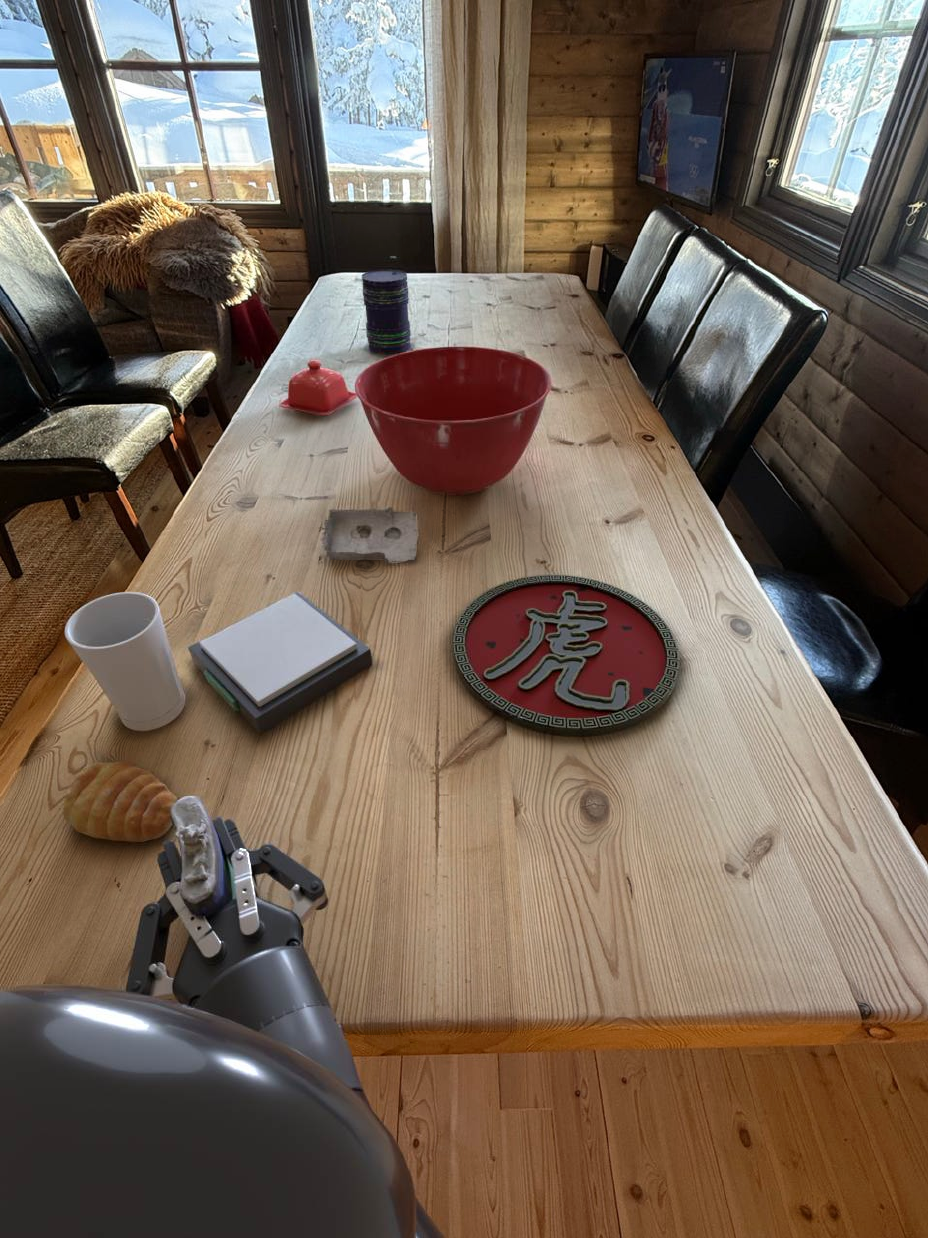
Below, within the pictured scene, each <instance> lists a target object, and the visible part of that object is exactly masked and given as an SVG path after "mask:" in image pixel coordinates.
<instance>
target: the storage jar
mask: <svg viewBox="0 0 928 1238" xmlns="http://www.w3.org/2000/svg"><path fill="white" fill-rule="evenodd" d="M389 257H390V260H396V259H397V256H395V255H392V256H389ZM361 281H362V284H361V285H362V290H361V291H362V297H363V299H362V301H363V305H364V306H365V317H366V322H365V329H366V331H365V333H366V338H367V343H368V345H367V348H368V351H369V352H371V353H372V354H374V355H375V354H376V355H380V356H393V355H397V354H400V353H404V352H408V351H411V349H412V344H411V335H412V334H411V333H412V332H411V322H410V320H409V307H408V304H409V300H410V297H409V287H408V286H409V285H408V273H407V272H405V271H402V270H397V269H376V270H370V271H366V272H364V273H363V274H361Z"/></svg>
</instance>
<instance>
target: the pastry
mask: <svg viewBox="0 0 928 1238" xmlns="http://www.w3.org/2000/svg"><path fill="white" fill-rule="evenodd" d="M176 801H178V797H177V796H176V795H175V794H173V792H171V791H170V790H169V788H168V786H167V785H166V784H165V783H163V782H161V781H160V780H159V778H157V777H156V776H155V775H153V774H152V772H150V771H149V770H147V769H143V768H140V767H137V766H133V764H132V763H131V762H129V761H126V760H125V761H124V760H119V761H118V760H117V761H115V762H102V761H97V762H94V763H92V764H90V765H88V766H87V767H86V768H84V769H83V770H82V771H81V772H80V773H79V774H78V775H77V776H76V777H75V778H74V780H73V781H72V784H71V786H70V787H69V789H68V790H67V793H66V794H65V796H64V802H63V811H62V815H63V818H64V820H66V821H67V822H68V823H69V824H70V825H71V826H72V828H74V830H75V831H76V832H78V833H80V834H83V835H86V836H89V837H91V838H94V839H102V840H110V841H117V842H119V841H121V842H122V841H123V842H131V843H137V842H140V843H141V842H142V843H143V842H146V841H150V840H156V839H157V840H158V839H160V838H161V837H162V836H164V835H166V833H167V832H168V831H169V830H170V828H171V827H172V826H173V824H172V821H171V818H170V816H171V806H172V805H174V804H175V803H176Z"/></svg>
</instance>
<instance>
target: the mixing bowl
mask: <svg viewBox="0 0 928 1238" xmlns="http://www.w3.org/2000/svg"><path fill="white" fill-rule="evenodd" d="M552 383H553V382H552V378H551V375H550V373H549V371H548V370H547V369H546V368H545V367H544V366H543V365H541V364H540V363H538V362H537V361H535V360H533V359H532V358H529V357H527V356H525V355H522V354H518V353H515V352H512V351H511V352H510V351H507V350H502V349H498V348H497V349H496V348H489V347H482V346H481V347H480V346H459V345H457V346H437V347H427V348H419V349H415V350H414V349H413V350H408V351H407V352H404V353H400V354H396V355H389V356H387V357H385V358H382V359H380V360H378V361H375V362H374V363H372V364H370V365H369V366H367V367H365V368H364V370H362V371H361V372H360V373H359V374H358V376H357V377H356V379H355V382H354V393H356V394H357V398H358V399H359V401H360V403H361V406H362V409H363V412H364V414H365V417H366V419H367V422H368V424H369V426H370V428H371V430H372V432H373V435H374V437H375V438H376V440H377V442H378V444H379V446H380V448H381V449H382V451H383V452H384V454H385V455H386V457H387V459H388V460H389V461H390V463H391V464H392V465H393V467H394V468H395V469H396V471H397V472H398V473H399V474H400V475H401V476H402V477H403V478H404V479H406V481H408V482H409V483H411V484H413V485H415V486H417V487H419V488H421V489H423V490H425V491H428V492H431V493H434V494H438V495H443V496H444V495H445V496H462V495H470V494H475V493H478V492H482V491H484V490H487V489H488V488H489V487H491V486H494V485H495V484H497V483H499V482H500V481H502V480H503V479H504V478H506V477H507V476H508V475H509V474H510V473H511V472H512V470H513V469H514V468H515V467H516V465H518V462H519V461H520V459H521V458H522V456H523V454H524V452H525V451H526V449H527V447H528V446H529V443H530V441H531V439H532V438H533V435H534V433H535V430H536V429H537V426H538V423H539V420H540V418H541V415H542V412H543V409H544V406H545V403H546V399H547V396H548V395H549V393H550V392H551V390H552V389H551V388H552V386H553V385H552Z"/></svg>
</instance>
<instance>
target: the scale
mask: <svg viewBox="0 0 928 1238" xmlns="http://www.w3.org/2000/svg"><path fill="white" fill-rule="evenodd" d="M187 648H188V652H189V654H190V656H191V659H192V661H193V664H194V665H195V666H196V667H197V669H198V670H199V671H200V672H201V673H202V674H203V675H204V677H205V679H206V681H207V683H208V684H209V685H210V686H211V687H212V688H213V689H214V691H216V692H217V694H218V695H219V696H220V697H221V698H222V699H223V700H224V701H225V702H226V703H227V705H229V706H230V708H232V710H233V711H234V712H237V711H238V712H239V714H240V715H241V716H242V717H243V718H244V719H245V720H246V721H247V723H249V724H250V725H251V726H252V728H254V729H255V731H256V732H257V733H258V734H259V735H261V736H262V735H263V734H265V733H267V732H268V731H270V730H272V729H273V728H274V727H276V726H278V725H280V724H282V723H283V722H284V721H286V720H287V719H289V718H291V717H292V716H294V715H296V714H297V713H299V712H300V711H302V710H304V709H305V708H307V707H309V706H310V705H311V704H313V703H315V702H316V701H318V700H319V699H321V698H323V697H324V696H326V695H328V694H329V693H331V692H333V691H334V690H335V689H337V688H338V687H341V686H342V685H344V684H345V683H347V682H348V681H350V680H352V679H353V678H355V677H356V676H358V675H359V674H362V673H363V672H364V671H366V670H368V669H369V668H371V667H372V666H373V665H374V664H373V657H372V649H371V648H370V647H369V646H367V645H366V644H365V643H364V642H363V641H361V640H360V639H359V638H358V637H356V636H355V635H354V634H353V633H351V632H350V631H349V630H348V629H346V628H345V627H343V626H342V624H340V623H339V622H338V621H336V620H335V619H334V618H333V617H331V616H330V615H329V614H327V613H326V612H325V611H324V610H322V609H321V608H320V607H319V606H317V605H316V604H315V603H314V602H313V601H311V600H310V599H309V598H308V597H306V596H305V595H304V594H303V593H301V592H300V591H295V592H293V593H291V594H289V595H287V596H286V597H284V598H281V599H279V600H278V601H275V602H274V603H272V604H270V605H267V606H266V607H264V608H262V609H259V610H258V611H256V612H254V613H252V614H250V615H248V616H246V617H244V618H243V619H240V620H238V621H237V622H235V623H233V624H230V625H228V626H226V627H224V628H223V629H221V630H219V631H217V632H215V633H213V634H211V635H209V636H207V637H205V638H203V639H201V640H200V641H197V642H196V643H193V644H191V645H190V646H188V647H187Z"/></svg>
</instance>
